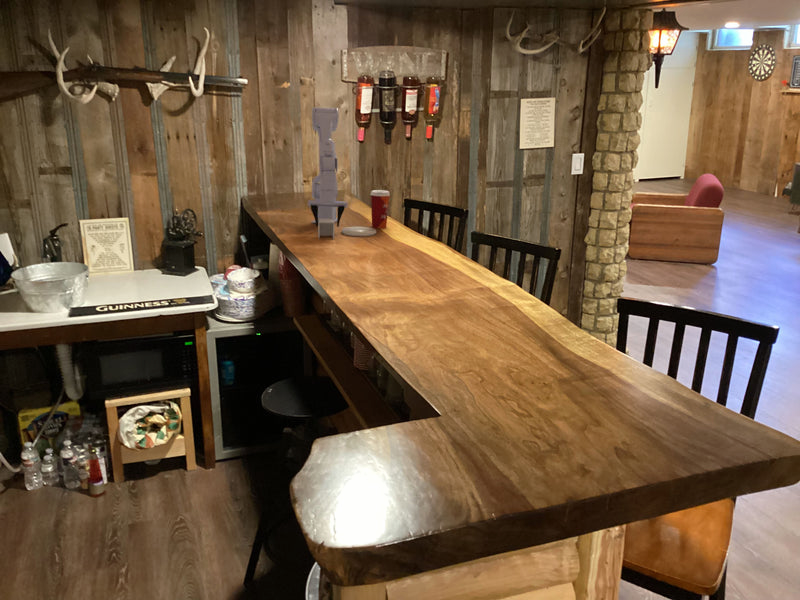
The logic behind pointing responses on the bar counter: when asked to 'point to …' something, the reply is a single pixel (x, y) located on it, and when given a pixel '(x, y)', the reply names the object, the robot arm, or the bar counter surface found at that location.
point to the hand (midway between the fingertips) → (327, 226)
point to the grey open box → (326, 227)
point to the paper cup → (379, 208)
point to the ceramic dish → (358, 231)
